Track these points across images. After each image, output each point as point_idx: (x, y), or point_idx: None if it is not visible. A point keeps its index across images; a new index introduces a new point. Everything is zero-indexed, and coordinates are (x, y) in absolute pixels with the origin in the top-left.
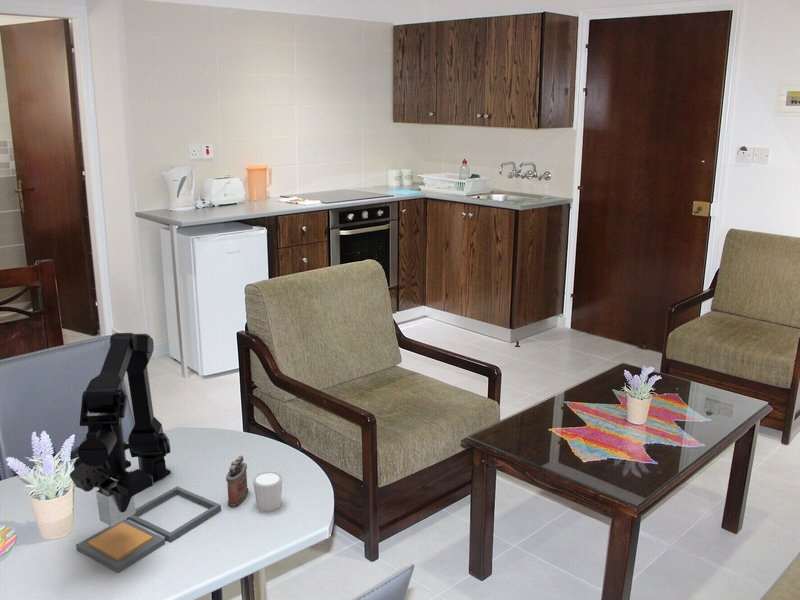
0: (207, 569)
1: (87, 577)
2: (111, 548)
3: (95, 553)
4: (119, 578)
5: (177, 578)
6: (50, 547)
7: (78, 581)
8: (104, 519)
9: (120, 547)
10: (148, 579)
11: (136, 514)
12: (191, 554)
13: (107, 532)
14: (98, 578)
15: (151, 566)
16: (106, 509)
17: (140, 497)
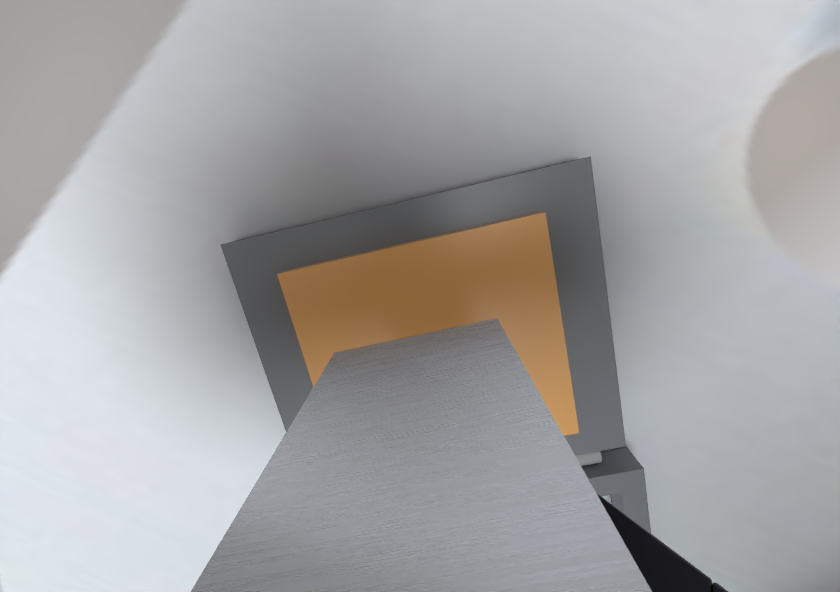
0: (40, 517)
1: (294, 103)
2: (385, 287)
3: (425, 208)
4: (188, 225)
5: (43, 411)
6: (717, 50)
7: (290, 49)
8: (425, 345)
9: (360, 326)
10: (103, 321)
11: (617, 502)
12: (175, 521)
13: (549, 335)
14: (250, 145)
15: (192, 372)
16: (351, 427)
17: (751, 568)
